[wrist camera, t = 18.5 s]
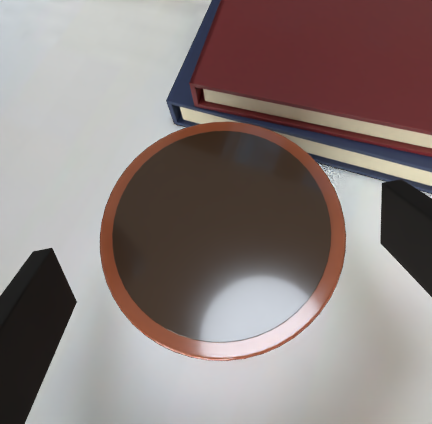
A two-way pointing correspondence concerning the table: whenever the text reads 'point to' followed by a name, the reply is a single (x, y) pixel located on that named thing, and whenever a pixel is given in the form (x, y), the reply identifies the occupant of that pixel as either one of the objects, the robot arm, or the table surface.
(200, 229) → the terracotta pot
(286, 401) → the table surface
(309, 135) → the navy book
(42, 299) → the robot arm
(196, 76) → the burgundy book
